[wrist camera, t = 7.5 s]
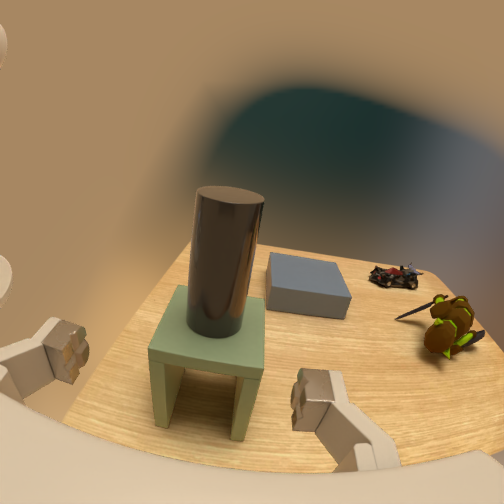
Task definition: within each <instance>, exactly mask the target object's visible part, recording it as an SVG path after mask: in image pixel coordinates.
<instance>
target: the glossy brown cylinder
mask: <svg viewBox="0 0 504 504" xmlns="http://www.w3.org/2000/svg"><path fill="white" fill-rule="evenodd" d="M263 205H264V198H263V197H262V196H260V195H259V194H256V193H254V192H251V191H248V190H244V189H240V188H234V187H225V186H206V187H201V188H199V189H197V191H196V200H195V209H194V219H193V229H192V240H191V251H190V264H189V277H188V292H187V308H186V322H187V325H188V326H189V327H190V329H191V330H193V331H194V332H195V333H197V334H199V335H201V336H204V337H208V338H216V339H220V338H227V337H230V336H233V335H235V334H236V333H237V332H239V330H240V329H241V327H242V322H243V317H244V311H245V306H246V300H247V294H248V289H249V283H250V278H251V272H252V267H253V261H254V255H255V250H256V244H257V238H258V232H259V227H260V221H261V216H262V210H263Z"/></svg>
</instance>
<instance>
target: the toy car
mask: <svg viewBox="0 0 504 504" xmlns="http://www.w3.org/2000/svg"><path fill="white" fill-rule="evenodd" d="M408 267H409V269H406V270H405V269H404V268H403V266H400V270H397V269H395V268H394V267H393V268H390V269H382V268H379V267H377V266H375V269H374V270H373V271H372V272H370V273H371V274H372V275H371V276H370V278H369V279H370V280H374V281H377V282H379V283H380V284H382V285H384V286H385V287H390V286H394V287H410V289H415V288H418V286H417V285H418V280H417V275H422V274H423V273H419V272H417V271H416V270H415V269H414V268H413V267H412V265H411V264H409V265H408ZM416 274H417V275H416Z"/></svg>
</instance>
